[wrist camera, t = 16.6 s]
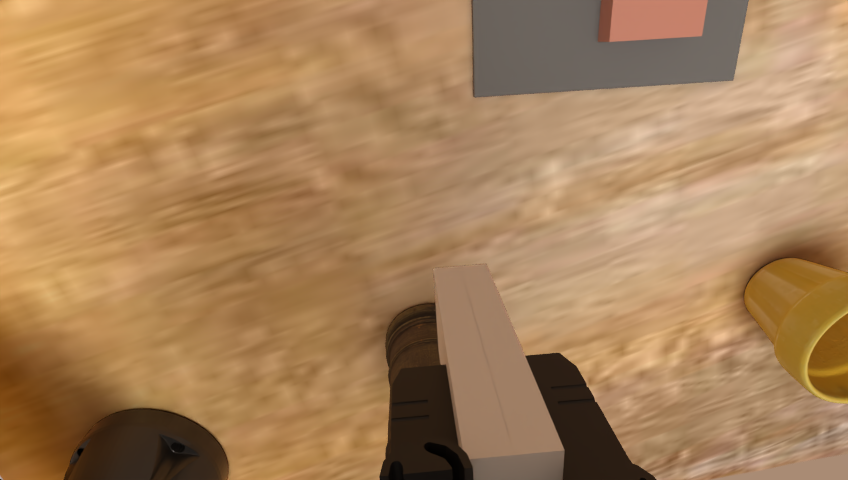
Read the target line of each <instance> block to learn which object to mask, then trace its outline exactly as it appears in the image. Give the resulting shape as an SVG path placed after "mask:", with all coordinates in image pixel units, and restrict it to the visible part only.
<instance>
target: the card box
mask: <svg viewBox="0 0 848 480" xmlns="http://www.w3.org/2000/svg"><path fill="white" fill-rule="evenodd" d="M707 2H708V0H601V8H600V20H599V32H598V42H616V41H632V40H648V39H664V38H680V37H696V36H702V33H703V27H704V21H705V14H706V8H707Z"/></svg>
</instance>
